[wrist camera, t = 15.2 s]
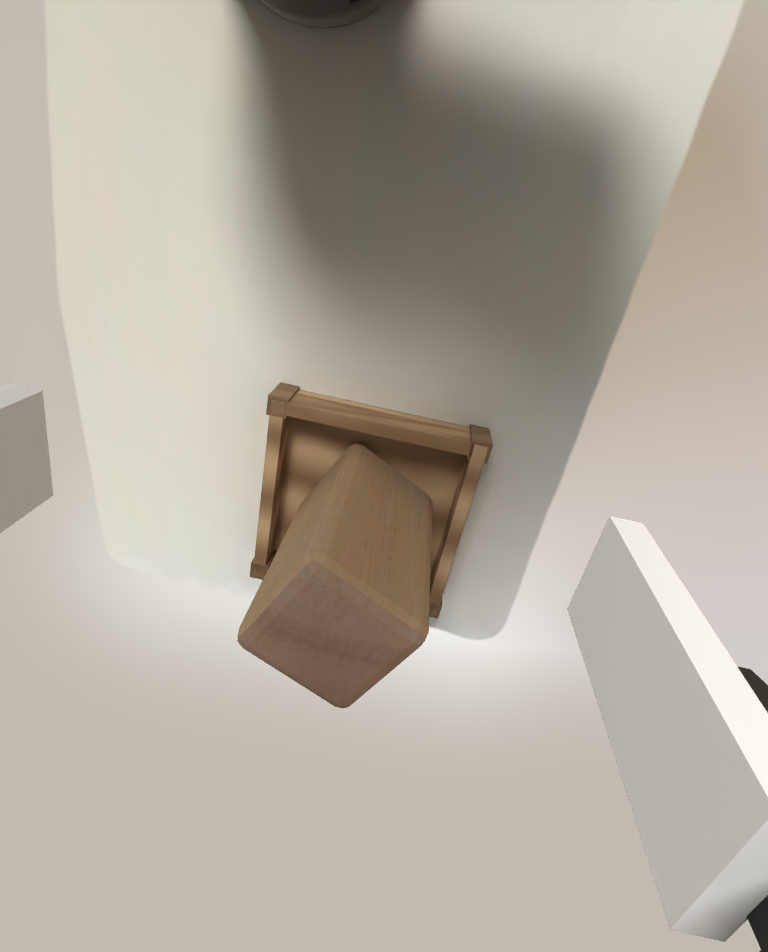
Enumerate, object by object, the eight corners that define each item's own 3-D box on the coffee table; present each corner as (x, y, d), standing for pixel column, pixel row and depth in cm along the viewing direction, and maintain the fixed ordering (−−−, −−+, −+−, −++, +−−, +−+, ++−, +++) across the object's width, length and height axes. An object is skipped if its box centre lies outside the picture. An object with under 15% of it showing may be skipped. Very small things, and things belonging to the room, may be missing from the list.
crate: (280, 382, 50) (268, 395, 46) (488, 428, 50) (492, 445, 46) (261, 554, 59) (249, 576, 55) (437, 594, 58) (437, 618, 55)
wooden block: (374, 559, 56) (343, 718, 38) (298, 504, 54) (227, 645, 36) (436, 497, 52) (434, 642, 34) (356, 435, 50) (310, 555, 32)
